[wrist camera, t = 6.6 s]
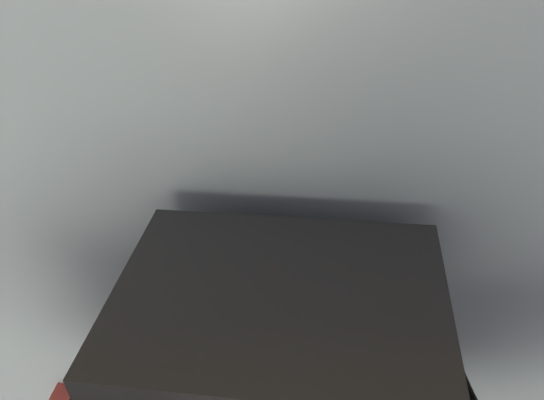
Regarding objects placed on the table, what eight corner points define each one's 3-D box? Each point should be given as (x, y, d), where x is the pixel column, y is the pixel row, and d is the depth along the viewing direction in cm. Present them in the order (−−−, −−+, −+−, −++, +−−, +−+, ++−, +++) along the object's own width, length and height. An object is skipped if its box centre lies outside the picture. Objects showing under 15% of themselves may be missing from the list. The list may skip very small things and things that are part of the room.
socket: (904, -49, 9) (1115, 1, 6) (501, 463, 20) (521, 556, 17) (-95, -204, 10) (-253, -215, 7) (43, 372, 20) (-1, 448, 18)
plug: (426, 173, 11) (475, 424, 6) (395, 365, 15) (411, 613, 10) (181, 163, 12) (62, 381, 7) (210, 347, 15) (144, 572, 11)
